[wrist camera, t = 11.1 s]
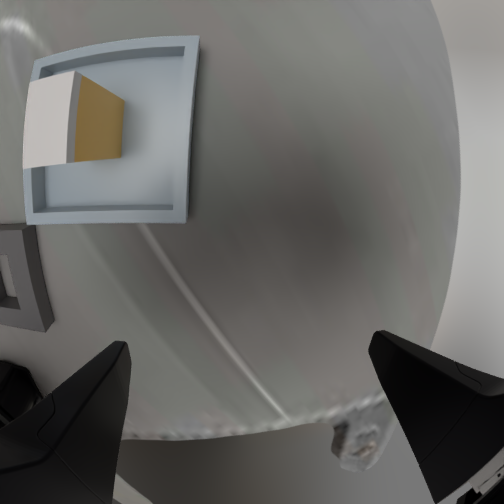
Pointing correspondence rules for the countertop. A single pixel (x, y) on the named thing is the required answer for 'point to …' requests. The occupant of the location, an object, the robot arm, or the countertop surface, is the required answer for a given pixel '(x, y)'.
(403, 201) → the countertop surface
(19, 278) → the block
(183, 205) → the parts tray
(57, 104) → the block
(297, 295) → the countertop surface
